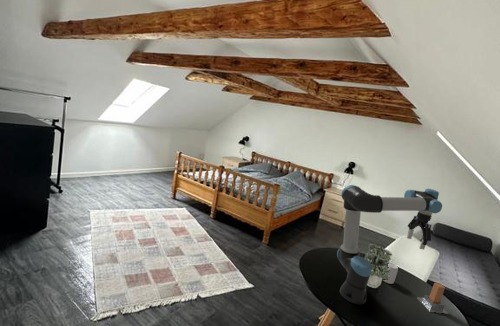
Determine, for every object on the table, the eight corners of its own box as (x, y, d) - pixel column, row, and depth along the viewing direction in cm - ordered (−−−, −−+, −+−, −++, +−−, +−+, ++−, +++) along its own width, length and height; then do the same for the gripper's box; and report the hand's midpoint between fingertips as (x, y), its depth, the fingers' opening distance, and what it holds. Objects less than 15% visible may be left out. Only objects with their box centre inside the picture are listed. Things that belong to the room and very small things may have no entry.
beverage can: (380, 281, 191) (385, 265, 189) (381, 275, 198) (386, 260, 196) (393, 286, 188) (398, 270, 185) (393, 280, 195) (398, 265, 192)
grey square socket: (429, 311, 167) (431, 305, 167) (417, 298, 179) (419, 292, 178) (448, 314, 168) (450, 308, 167) (434, 300, 180) (436, 294, 179)
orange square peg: (431, 306, 171) (438, 286, 168) (427, 302, 175) (434, 282, 172) (437, 307, 172) (445, 287, 169) (433, 303, 176) (440, 283, 173)
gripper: (444, 222, 164) (433, 254, 169) (418, 206, 189) (409, 235, 193) (432, 220, 164) (421, 252, 168) (407, 205, 188) (398, 233, 193)
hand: (414, 243), depth 181 cm, fingers open, 13 cm apart
